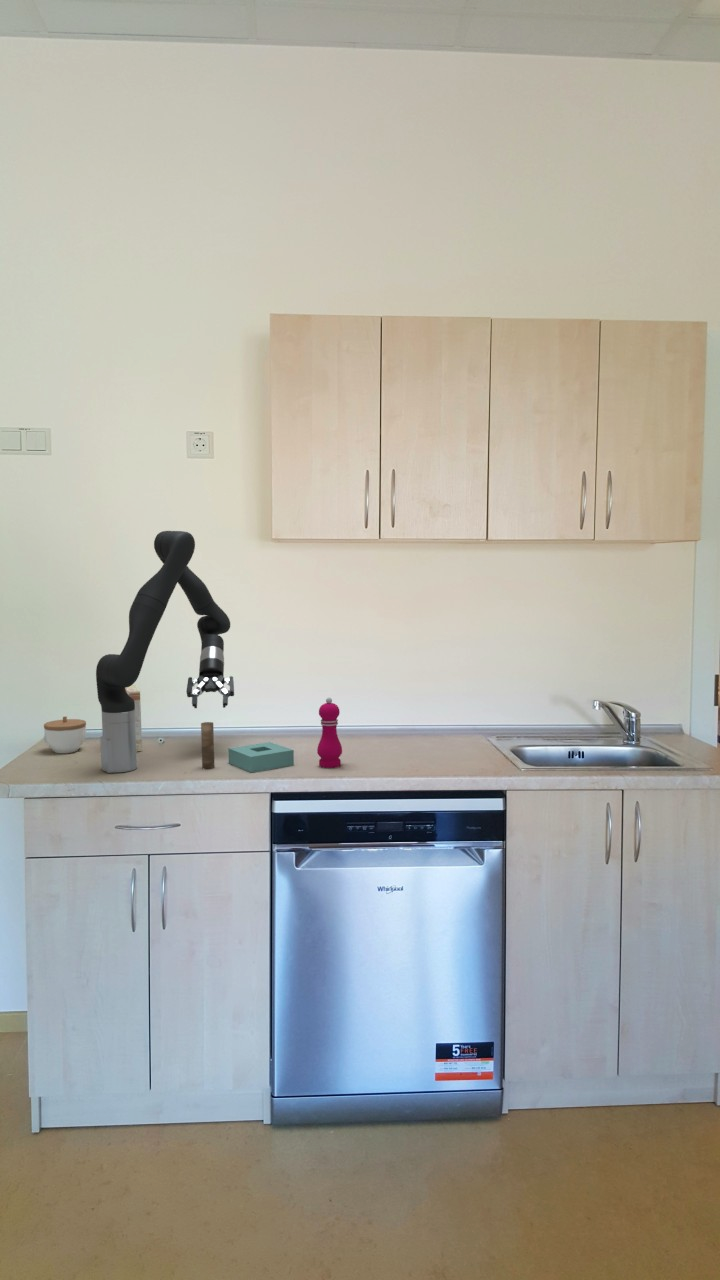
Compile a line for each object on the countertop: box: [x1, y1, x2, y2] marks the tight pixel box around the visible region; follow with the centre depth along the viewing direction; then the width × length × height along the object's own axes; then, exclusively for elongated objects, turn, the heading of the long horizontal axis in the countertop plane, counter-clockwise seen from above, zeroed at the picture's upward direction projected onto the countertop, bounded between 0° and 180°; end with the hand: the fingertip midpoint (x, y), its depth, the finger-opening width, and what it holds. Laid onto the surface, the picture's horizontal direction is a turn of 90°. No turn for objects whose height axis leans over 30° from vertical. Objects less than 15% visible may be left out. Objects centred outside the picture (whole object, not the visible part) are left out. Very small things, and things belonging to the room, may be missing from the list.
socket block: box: [228, 741, 295, 773], centre depth 238 cm, size 14×14×4 cm
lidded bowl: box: [43, 716, 87, 754], centre depth 258 cm, size 13×13×11 cm
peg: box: [200, 721, 216, 770], centre depth 235 cm, size 4×4×13 cm
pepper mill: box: [316, 697, 343, 769], centre depth 235 cm, size 7×7×20 cm
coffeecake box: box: [125, 684, 143, 753], centre depth 261 cm, size 15×7×20 cm, turn 21°
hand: (209, 706), depth 245 cm, fingers open, 8 cm apart
